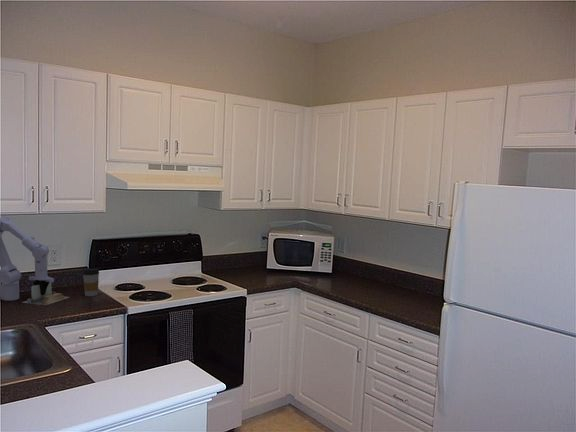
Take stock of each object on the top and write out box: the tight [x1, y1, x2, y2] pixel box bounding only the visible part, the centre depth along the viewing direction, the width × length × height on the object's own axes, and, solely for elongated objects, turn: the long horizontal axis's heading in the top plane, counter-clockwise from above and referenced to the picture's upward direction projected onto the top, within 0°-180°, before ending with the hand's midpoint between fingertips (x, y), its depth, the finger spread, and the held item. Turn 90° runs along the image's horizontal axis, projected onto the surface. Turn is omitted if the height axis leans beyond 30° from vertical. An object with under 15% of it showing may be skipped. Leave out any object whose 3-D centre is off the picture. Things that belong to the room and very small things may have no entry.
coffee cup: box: [82, 267, 100, 297], centre depth 258 cm, size 8×8×15 cm
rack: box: [21, 291, 70, 306], centre depth 246 cm, size 15×17×3 cm
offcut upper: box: [45, 292, 63, 300], centre depth 244 cm, size 4×8×2 cm, turn 163°
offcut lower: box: [43, 295, 66, 304], centre depth 244 cm, size 4×10×2 cm, turn 163°
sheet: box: [30, 282, 53, 300], centre depth 247 cm, size 1×12×8 cm, turn 163°
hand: (41, 294), depth 247 cm, fingers closed on sheet, 1 cm apart
